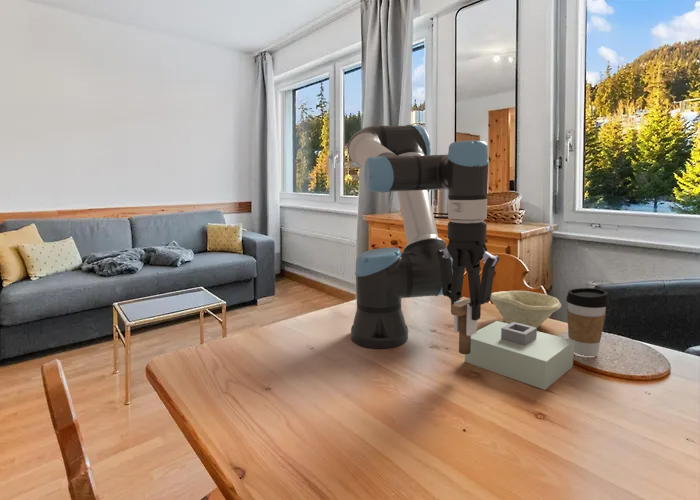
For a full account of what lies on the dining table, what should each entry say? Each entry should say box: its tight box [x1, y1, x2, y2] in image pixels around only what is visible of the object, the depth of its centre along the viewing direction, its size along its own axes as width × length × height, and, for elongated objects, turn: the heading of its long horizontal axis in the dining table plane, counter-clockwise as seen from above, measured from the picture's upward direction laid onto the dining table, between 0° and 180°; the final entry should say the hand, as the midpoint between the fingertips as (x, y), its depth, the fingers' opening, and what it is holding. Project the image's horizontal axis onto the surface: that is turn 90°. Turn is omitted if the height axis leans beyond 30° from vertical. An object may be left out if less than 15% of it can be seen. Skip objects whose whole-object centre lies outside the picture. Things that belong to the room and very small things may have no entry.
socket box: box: [464, 320, 575, 391], centre depth 92 cm, size 18×14×8 cm
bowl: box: [490, 290, 562, 329], centre depth 115 cm, size 14×18×15 cm
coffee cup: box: [565, 287, 610, 356], centre depth 96 cm, size 8×8×15 cm
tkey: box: [451, 297, 471, 355], centre depth 87 cm, size 7×2×11 cm, turn 132°
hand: (465, 331), depth 88 cm, fingers closed on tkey, 2 cm apart
